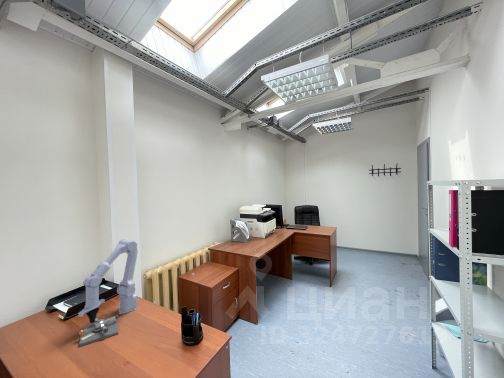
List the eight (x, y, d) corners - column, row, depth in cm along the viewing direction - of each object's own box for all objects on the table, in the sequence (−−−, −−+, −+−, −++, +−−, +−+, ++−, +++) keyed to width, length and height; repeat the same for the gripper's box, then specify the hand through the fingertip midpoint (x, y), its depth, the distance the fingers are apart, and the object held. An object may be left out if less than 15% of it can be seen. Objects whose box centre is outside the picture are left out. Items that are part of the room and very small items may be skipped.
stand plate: (117, 318, 126) (117, 316, 126) (118, 334, 112) (118, 331, 112) (82, 328, 117) (82, 326, 117) (78, 347, 103) (78, 344, 103)
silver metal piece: (125, 325, 116) (125, 319, 116) (84, 346, 102) (84, 338, 102) (112, 314, 127) (112, 308, 127) (73, 331, 113) (73, 323, 113)
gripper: (97, 291, 125) (97, 314, 125) (73, 303, 111) (73, 330, 111) (108, 291, 124) (107, 315, 124) (85, 304, 110) (85, 331, 110)
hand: (92, 322), depth 117 cm, fingers closed, pressing on silver metal piece
